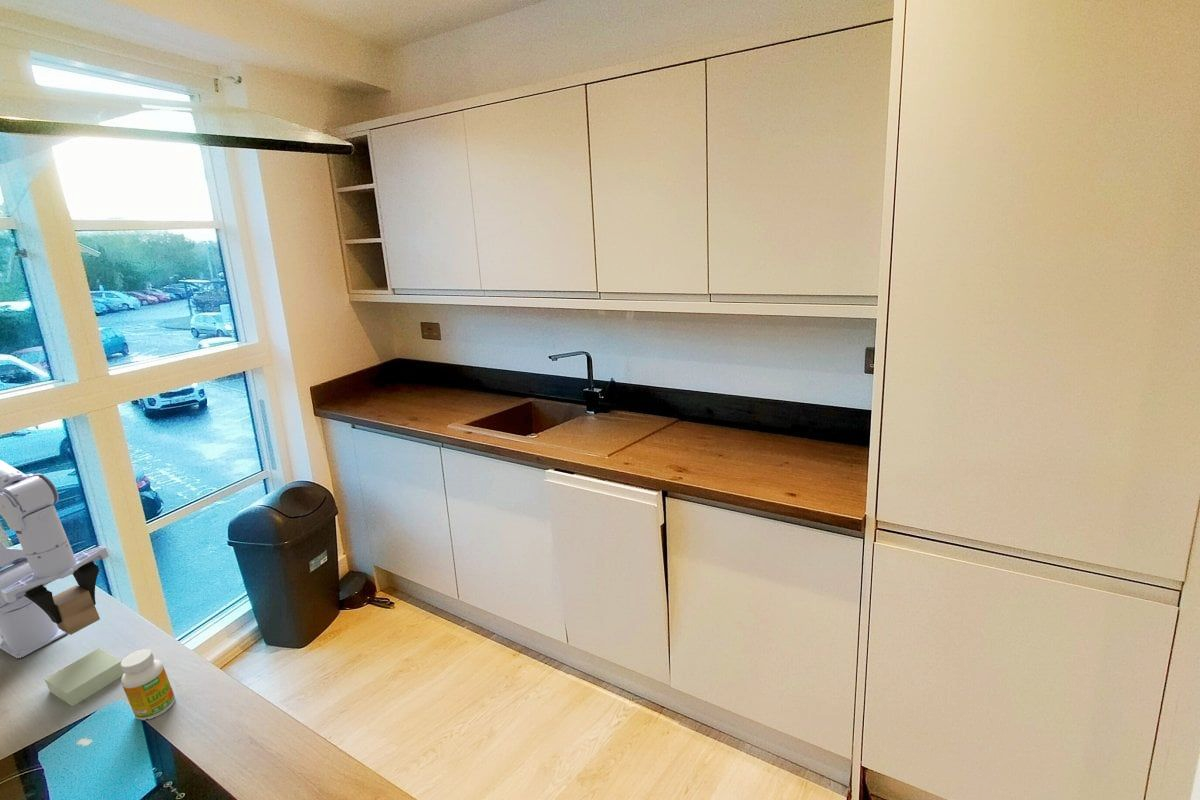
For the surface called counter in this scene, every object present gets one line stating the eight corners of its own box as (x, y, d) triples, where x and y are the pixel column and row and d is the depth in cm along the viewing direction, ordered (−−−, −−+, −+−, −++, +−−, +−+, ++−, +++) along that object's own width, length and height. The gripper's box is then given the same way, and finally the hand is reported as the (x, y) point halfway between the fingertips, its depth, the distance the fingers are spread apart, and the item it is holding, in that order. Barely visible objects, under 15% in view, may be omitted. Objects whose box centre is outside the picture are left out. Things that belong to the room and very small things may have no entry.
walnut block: (58, 628, 110) (46, 599, 108) (87, 613, 114) (76, 585, 112) (70, 635, 108) (58, 605, 106) (100, 619, 112) (88, 590, 110)
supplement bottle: (155, 722, 96) (134, 671, 93) (126, 719, 97) (105, 669, 94) (183, 696, 101) (165, 646, 98) (156, 693, 102) (137, 644, 99)
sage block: (50, 693, 105) (44, 679, 104) (104, 662, 111) (98, 648, 110) (73, 708, 101) (66, 693, 100) (127, 674, 107) (121, 660, 106)
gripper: (2, 573, 98) (34, 644, 102) (106, 528, 110) (131, 594, 114) (-16, 564, 101) (16, 634, 106) (86, 522, 113) (111, 585, 118)
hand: (74, 612), depth 110 cm, fingers closed on walnut block, 4 cm apart
